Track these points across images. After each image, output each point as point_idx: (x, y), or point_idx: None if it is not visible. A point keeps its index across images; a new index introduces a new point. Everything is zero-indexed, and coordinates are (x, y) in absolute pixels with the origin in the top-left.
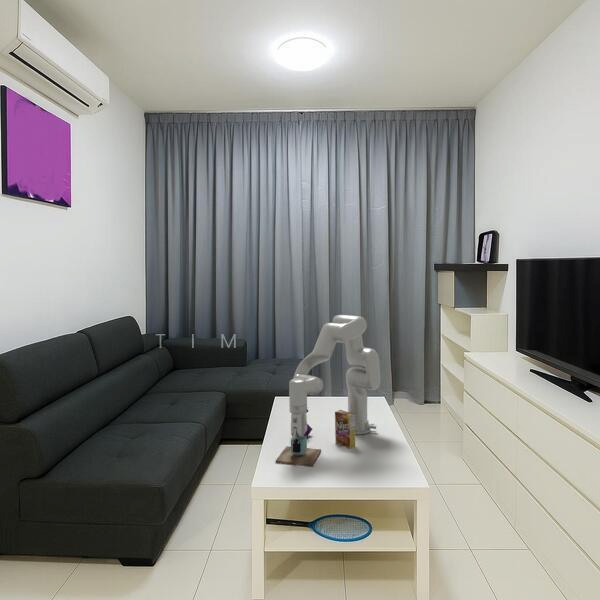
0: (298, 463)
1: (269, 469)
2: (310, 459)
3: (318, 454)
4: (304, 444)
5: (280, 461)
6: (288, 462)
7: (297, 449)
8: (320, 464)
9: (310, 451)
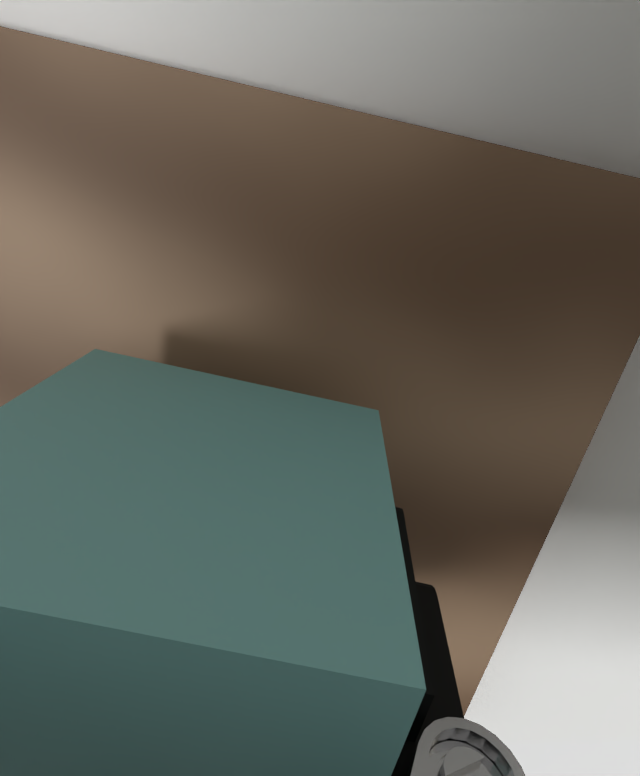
0: (574, 460)
1: (626, 761)
2: (441, 249)
3: (159, 65)
4: (260, 498)
5: (472, 691)
6: (512, 598)
7: (438, 613)
8: (581, 17)
9: (40, 258)
